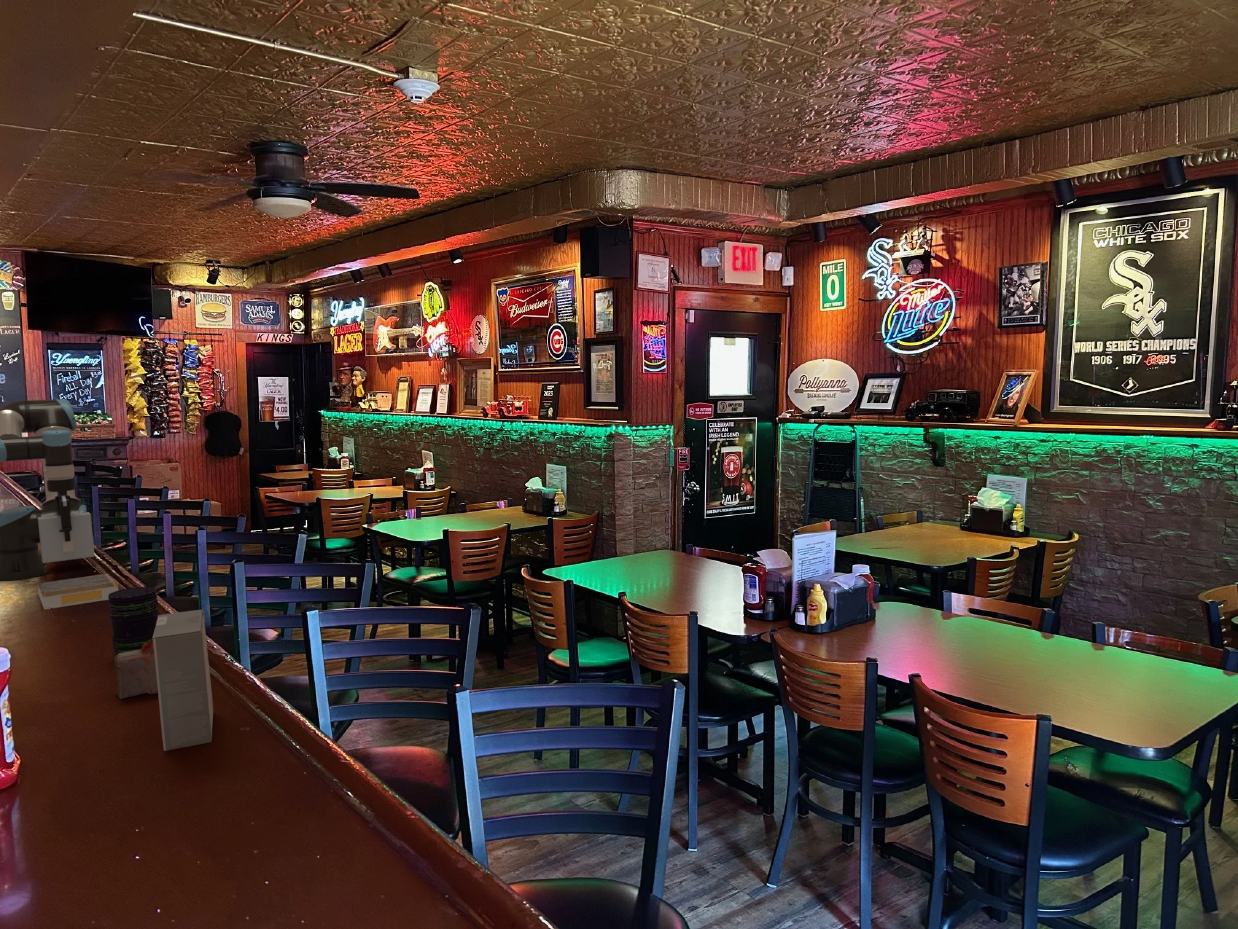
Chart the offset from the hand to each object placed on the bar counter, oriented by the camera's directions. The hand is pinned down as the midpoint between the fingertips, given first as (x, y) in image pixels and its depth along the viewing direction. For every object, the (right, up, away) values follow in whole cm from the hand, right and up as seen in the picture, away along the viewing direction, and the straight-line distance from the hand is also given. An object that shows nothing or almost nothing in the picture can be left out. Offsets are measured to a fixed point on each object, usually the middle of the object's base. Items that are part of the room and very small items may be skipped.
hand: (67, 549), depth 276 cm
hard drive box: (+102, -20, -125) cm, 162 cm away
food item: (+84, -18, -102) cm, 133 cm away
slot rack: (+14, -12, -17) cm, 26 cm away
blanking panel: (0, -3, 0) cm, 3 cm away
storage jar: (+67, -17, -79) cm, 105 cm away
